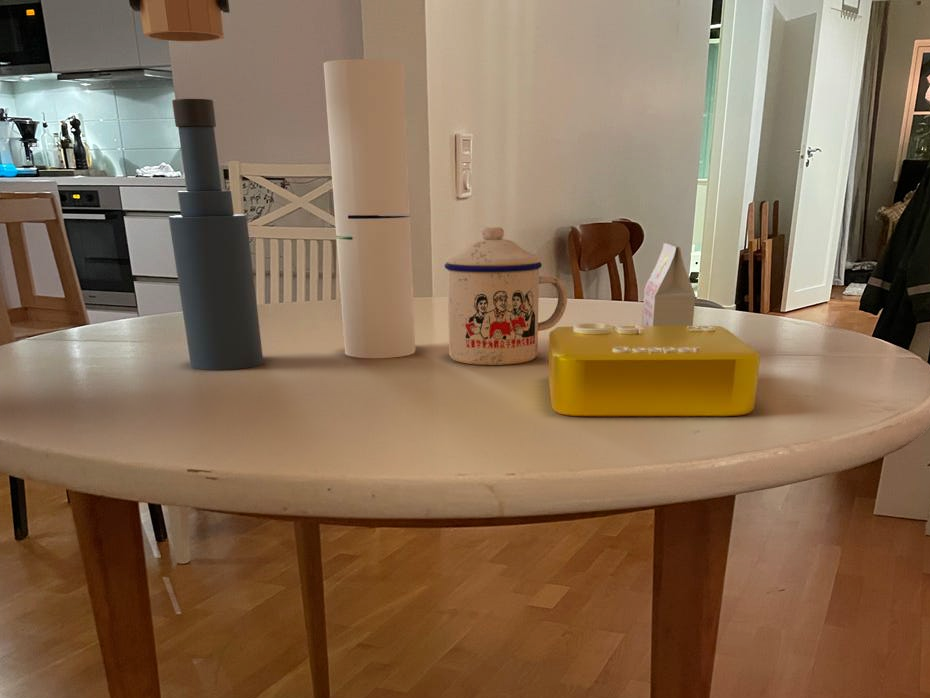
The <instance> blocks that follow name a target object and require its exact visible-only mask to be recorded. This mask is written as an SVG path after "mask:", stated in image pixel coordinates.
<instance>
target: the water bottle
mask: <svg viewBox="0 0 930 698" xmlns="http://www.w3.org/2000/svg"><path fill="white" fill-rule="evenodd" d="M171 104H172V109H173V117H174V118H173V119H174V126H175V127H176V128H177V129H178V136H179V143H180V150H181V151H180V152H181V158H182V165H183V171H184V179H185V185H186V190H179V191H177V197H178V202H179V210H180V215H170V216H168V222H169V229H170V236H171V243H172V249H173V255H174V262H175V270H176V275H177V282H178V289H179V295H180V302H181V309H182V314H183V315H182V316H183V322H184V329H185V336H186V341H187V348H188V349H187V350H188V357H189V363H190V366H191V368H192V369H196V370H202V371H235V370H243V369H249V368H254V367H257V366H258V367H259V366H260V365H262V364H263V363H264V356H263V348H262V339H261V330H260V329H261V328H260V321H259V312H258V303H257V294H256V286H255V278H254V270H253V259H252V251H251V243H250V234H249V226H248V225H249V224H248V216H247V214H241V213H240V214H237V213H235V212H234V204H233V203H234V202H233V196H232V190H223V188H222V181H221V174H220V164H219V155H218V149H217V141H216V134H215V133H216V132H215V128H216V127H217V121H216V115H215V114H216V113H215V105H214V100H213V99H209V98H174V99H172V100H171Z"/></svg>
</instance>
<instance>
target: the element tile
mask: <svg viewBox="0 0 930 698" xmlns="http://www.w3.org/2000/svg"><path fill="white" fill-rule="evenodd" d="M548 336H549V337H548V386H549V393H550V402H551V403H550V404H551V407H552V409H553V411H554V412H555V413H557V414H559V415H562V416H569V417H570V416H571V417H736V416H737V417H738V416H745V415H749V414H750V413H752V412H753V410H754V408H755V405H756V404H755V403H756V394H757V388H758V381H759V380H758V378H759V371H760V365H761V364H760V363H761V354H760V353H759V352H758V351H757V350H755V349H754V348H753V347H751V346H750V345H749V344H747V342H744V341H743V340H742V339H741V338H740V337H739V336H737V335H735V334H734V333H733V332H731V331H730V330H729V329H727V328H725V327H723V326H721V325H693V326H642V324H640V323H636V324H634V325H624V326H623V325H621V324H620V323H617V324H615V325H614V326H613V325H610V324H609V323H605V322H580V323H575V324H573V326H557V327H555V328H554V329H552V330H551V331H550V332H549V334H548Z"/></svg>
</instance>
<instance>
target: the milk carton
mask: <svg viewBox="0 0 930 698" xmlns="http://www.w3.org/2000/svg"><path fill="white" fill-rule="evenodd" d="M642 299H643V302H642V315H641V317H642V318H641V326H694V317H695V316H694V314H695V303H696V293H695V291H694V288H693V285H692V283H691V280H690V278H689V275H688V272H687V270H686V267H685V263H684V260H683V257H682V250H681V246H679V245H676V244H673V243H671V242H663V245H662V248H661V251H660V254H659V256H658V259H657V261H656V264H655V265H654V267H653V270H652V271H651V273H650V275H649V277H648V279H647V281H646V282H645V285H644V288H643V298H642Z"/></svg>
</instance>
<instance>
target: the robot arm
mask: <svg viewBox="0 0 930 698" xmlns="http://www.w3.org/2000/svg"><path fill="white" fill-rule="evenodd" d="M229 2H230V1H229V0H218V6H219V7H220V9H221V12H223V13H226V14H227V13H230V3H229ZM128 3H129V6H130V8H131V9H132V10H133V11H134V12H140V3H139V0H128Z"/></svg>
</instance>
